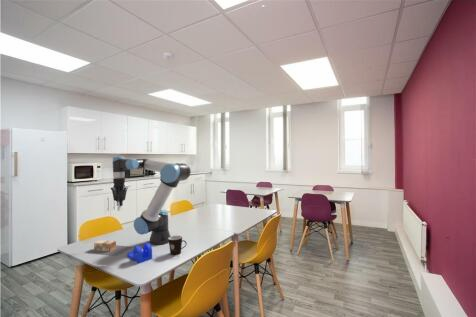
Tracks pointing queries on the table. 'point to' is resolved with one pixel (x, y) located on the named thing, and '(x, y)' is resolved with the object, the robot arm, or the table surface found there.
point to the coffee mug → (175, 244)
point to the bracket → (141, 253)
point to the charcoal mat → (113, 253)
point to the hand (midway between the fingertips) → (119, 210)
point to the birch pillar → (105, 245)
